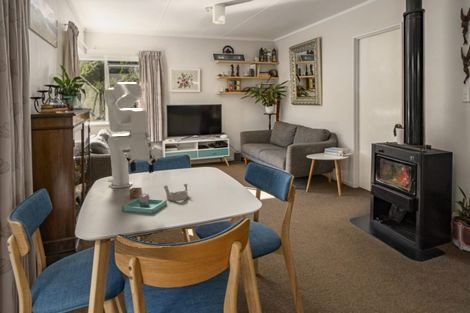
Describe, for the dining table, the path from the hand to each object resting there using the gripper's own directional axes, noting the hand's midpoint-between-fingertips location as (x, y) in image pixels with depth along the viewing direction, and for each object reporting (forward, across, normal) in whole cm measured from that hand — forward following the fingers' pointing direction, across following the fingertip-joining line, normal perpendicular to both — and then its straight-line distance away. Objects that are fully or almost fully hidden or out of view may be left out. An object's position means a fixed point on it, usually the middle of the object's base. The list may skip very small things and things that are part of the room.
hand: (142, 171), depth 156 cm
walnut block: (+18, +13, -14) cm, 27 cm away
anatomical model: (+18, -10, -17) cm, 27 cm away
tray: (+18, -1, 0) cm, 18 cm away
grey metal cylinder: (+17, 0, 0) cm, 17 cm away
